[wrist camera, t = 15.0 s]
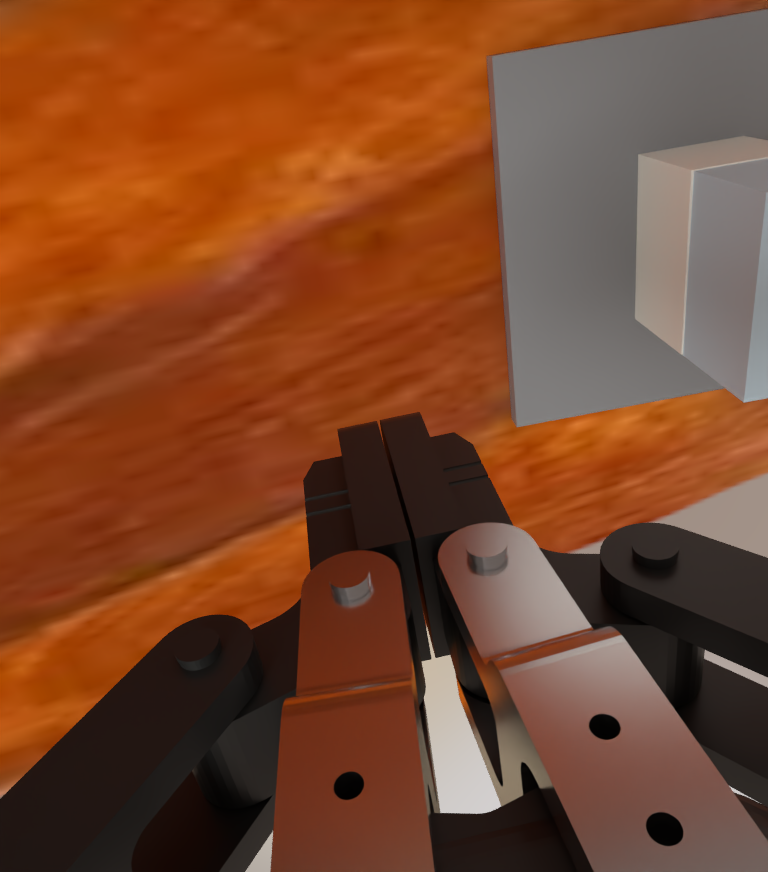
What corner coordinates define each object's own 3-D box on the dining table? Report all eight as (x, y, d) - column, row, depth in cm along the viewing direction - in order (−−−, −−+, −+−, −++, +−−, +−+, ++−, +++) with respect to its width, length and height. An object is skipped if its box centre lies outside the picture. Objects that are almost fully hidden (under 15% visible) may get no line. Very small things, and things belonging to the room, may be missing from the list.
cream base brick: (638, 154, 33) (691, 170, 29) (743, 135, 33) (812, 148, 29) (634, 318, 37) (681, 354, 33) (729, 301, 37) (788, 334, 33)
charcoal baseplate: (486, 56, 32) (492, 56, 31) (883, -12, 32) (900, -14, 31) (511, 418, 40) (516, 427, 39) (825, 360, 41) (836, 367, 40)
